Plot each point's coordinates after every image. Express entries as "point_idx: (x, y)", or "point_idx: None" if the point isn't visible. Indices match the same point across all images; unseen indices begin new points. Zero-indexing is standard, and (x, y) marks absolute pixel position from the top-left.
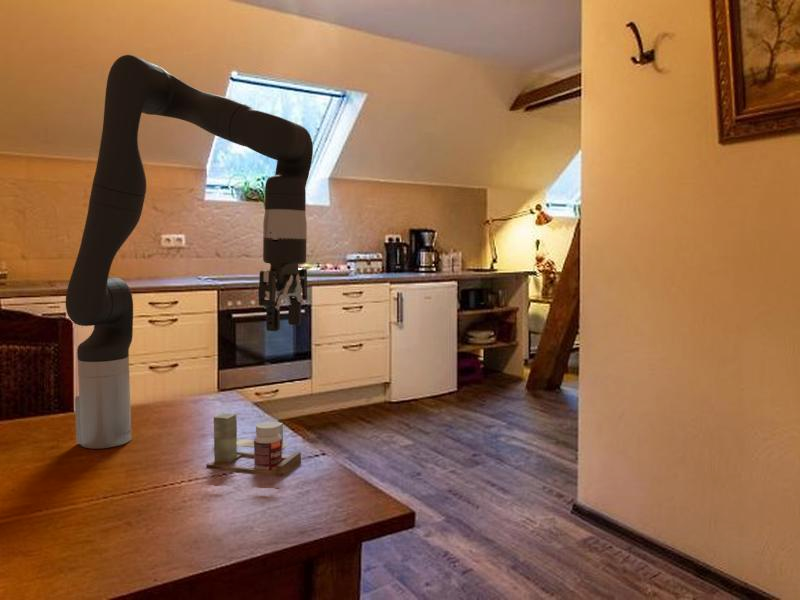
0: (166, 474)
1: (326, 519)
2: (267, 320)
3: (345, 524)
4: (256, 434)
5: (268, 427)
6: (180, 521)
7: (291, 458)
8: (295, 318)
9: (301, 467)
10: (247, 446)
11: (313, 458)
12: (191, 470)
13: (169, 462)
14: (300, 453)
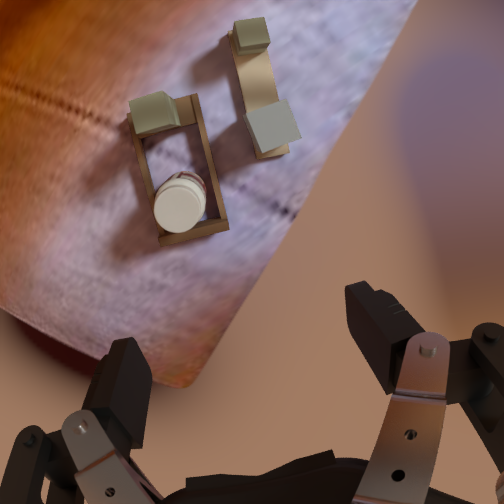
0: (97, 71)
1: None
2: (94, 381)
3: None
4: (244, 114)
5: (165, 223)
6: (24, 221)
7: (196, 237)
8: (358, 331)
9: None
10: (243, 93)
11: (270, 215)
12: (126, 86)
13: (136, 30)
14: (228, 229)
